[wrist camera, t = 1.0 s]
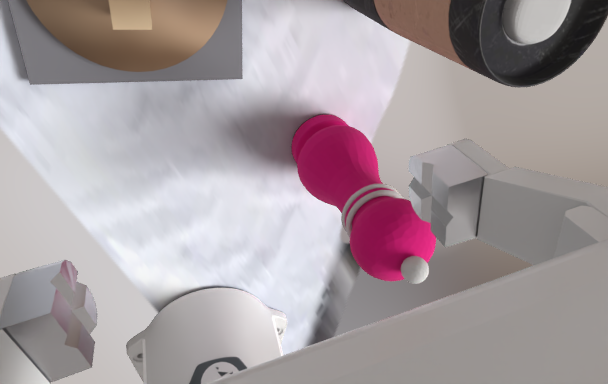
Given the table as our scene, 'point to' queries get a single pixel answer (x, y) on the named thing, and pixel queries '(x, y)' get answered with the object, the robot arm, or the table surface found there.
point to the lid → (131, 29)
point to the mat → (76, 69)
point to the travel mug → (496, 33)
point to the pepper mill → (363, 200)
